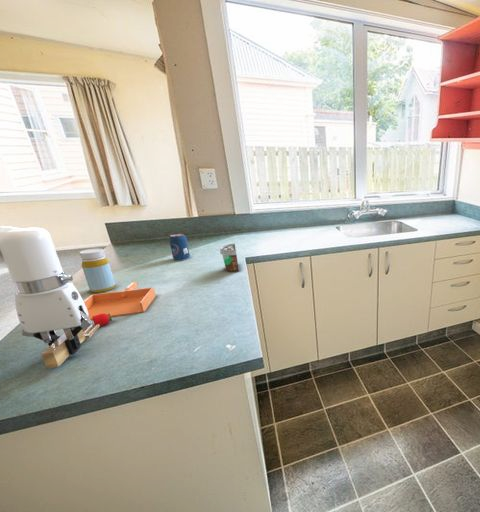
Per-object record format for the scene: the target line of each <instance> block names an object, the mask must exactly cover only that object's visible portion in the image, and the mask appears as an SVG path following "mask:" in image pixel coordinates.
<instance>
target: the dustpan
mask: <svg viewBox="0 0 480 512" xmlns="http://www.w3.org/2000/svg"><path fill="white" fill-rule="evenodd" d="M138 285H139V284H138V283H137V282H136V281H133V282H131V284H129V285H128V286H127V287H126V288H125V289H124V290H120V291H113V292H102V293H94V294H91V295H89V296H88V297H87V298H86V299H84V300H83V301H84V304H85V306H86V308H87V311H88V314H89V316H88V317H89V318H90V319H91V320H92V321H93V318H92V316H95V315H99V314H110V316H111V318H112V317H119V316H126V315H133V314H134V315H135V314H139V313H145V312H146V310H147V309H148V307H149V306H150V305H151V304H152V302H153V301H154V299H155V298H156V292H155V288H154V287H145V288H144V287H143V288H137V287H138Z"/></svg>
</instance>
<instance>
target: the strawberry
mask: <svg viewBox="0 0 480 512" xmlns="http://www.w3.org/2000/svg"><path fill="white" fill-rule="evenodd" d="M92 318H93V320H92V321H93V324H94V327H95V326H96V325H97V324H99V325H100V327H104V326H106V325H108V324H109V323H110V322H112V321H113V320H112V317H111V316H110V314H99V315H95V316H92Z"/></svg>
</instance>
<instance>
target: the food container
mask: <svg viewBox="0 0 480 512" xmlns="http://www.w3.org/2000/svg"><path fill="white" fill-rule="evenodd" d="M219 254H220V255H222V259H223V263H224V267H225V270H226V271H227V272H229V273H236V272H240V268H239V263H238V254H237V249H236V243H229V244H225V245H223V246H221V247H220V250H219Z"/></svg>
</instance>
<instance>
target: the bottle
mask: <svg viewBox="0 0 480 512" xmlns="http://www.w3.org/2000/svg"><path fill="white" fill-rule="evenodd" d="M78 254H79V257H80V259H81V268H82V271H83V274H84V277H85V280H86V284H87V286H88V289H89V292H91V293H93V294H102V293H107V292H109V291H111V290H113V289H114V288H115V287H116V282H115V278H114V275H113V273H112V268H111V265H110V262H109V260H108V259H107V258H106V255H105V250H104V249H103V248H88V249H84V250H81V251H79V253H78Z"/></svg>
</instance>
